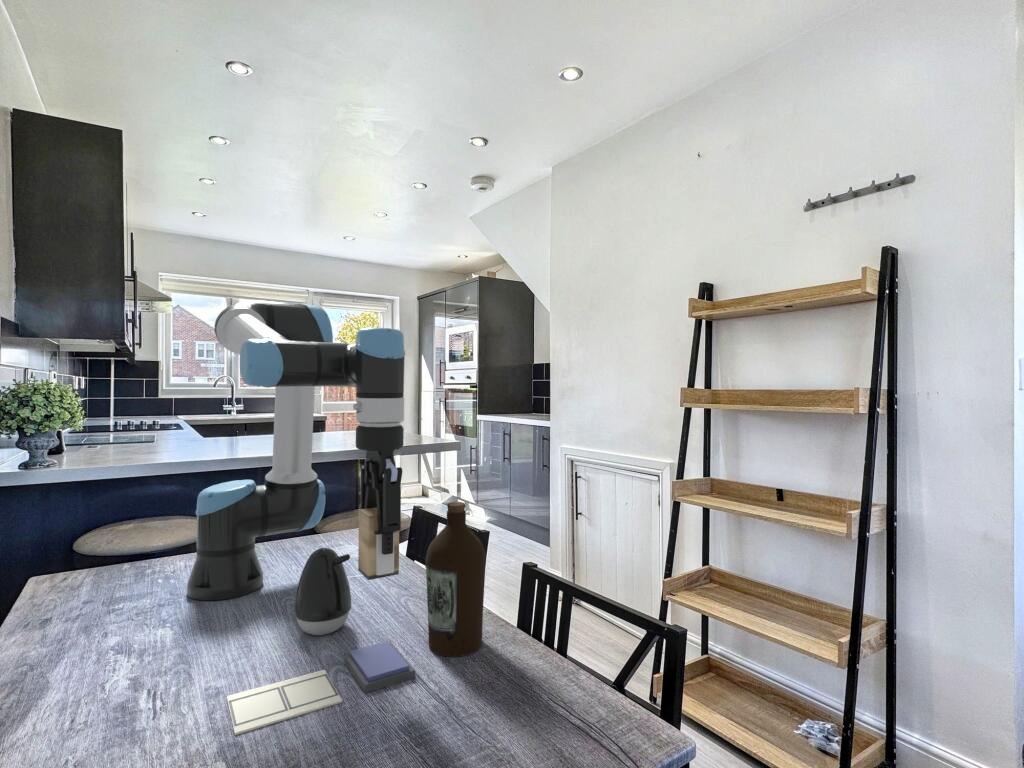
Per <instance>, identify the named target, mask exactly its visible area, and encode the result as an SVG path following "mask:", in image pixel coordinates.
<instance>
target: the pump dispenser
mask: <svg viewBox="0 0 1024 768" xmlns="http://www.w3.org/2000/svg"><path fill="white" fill-rule="evenodd" d="M350 560H351V555H350V554H349V553H347V554H343V555H339V554H338V553H337V552H336V551H335V550H334V549H332V548H330V547H329V548H328V547H320V548H318V549H315V550H314V551H313V552H312V553H311V554H310V555H309V557H308V558H307V560H306V562H305V565H304V566H303V569H302V572H301V573H300V574H301V575H300V576H299V577H300V578H299V580H298V583H297V588H296V594H295V598H294V606H293V607H294V608H293V615H294V617H295V618H296V622H297V624H298V626H299V628H300V629H301V630H302V631H303V632H305V633H306V634H310V635H312V636H325V635H329V634H332V633H334V632H335V631H337V630H339V629H340V628H341V627H343V625H344V624H345V623H346V621H347V620H348V618H349V615H350V611H351V609H352V595H351V594H352V593H351V588H350V587H351V586H350V583H349V579H348V578H349V577H348V575H347V572H346V569H345V566H344V563H345V562H347V561H350Z"/></svg>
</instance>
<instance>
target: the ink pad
mask: <svg viewBox="0 0 1024 768" xmlns="http://www.w3.org/2000/svg"><path fill="white" fill-rule="evenodd" d="M343 663H344V664H345V666H346V667H347V669H349V671H350V673H351V674H352V676H353V677H354V679H355V680H356V682H357V684H358V685H359V686H360V688H361V689H362V691H363V692H364V693H365V694H367V693H369V692H370V693H371V692H373V691H376V690H379V689H383V688H386V687H390V686H392V685H396V684H399V683H402V682H405V681H409V680H412V679H415V678H416V669H415V668H414V667H413V666H412V665H411V663H409V662H408V660H407V658H405V657H404V656H403V654H401V652H400V651H399V650H398V649H397V648H396V647H395V646H394V644H393V643H391V642H389V641H384V642H383V641H382V642H380V643H376V644H371V645H368V646H365V647H360V648H357V649H353V650H349V652H347V653H344V654H343Z"/></svg>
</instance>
